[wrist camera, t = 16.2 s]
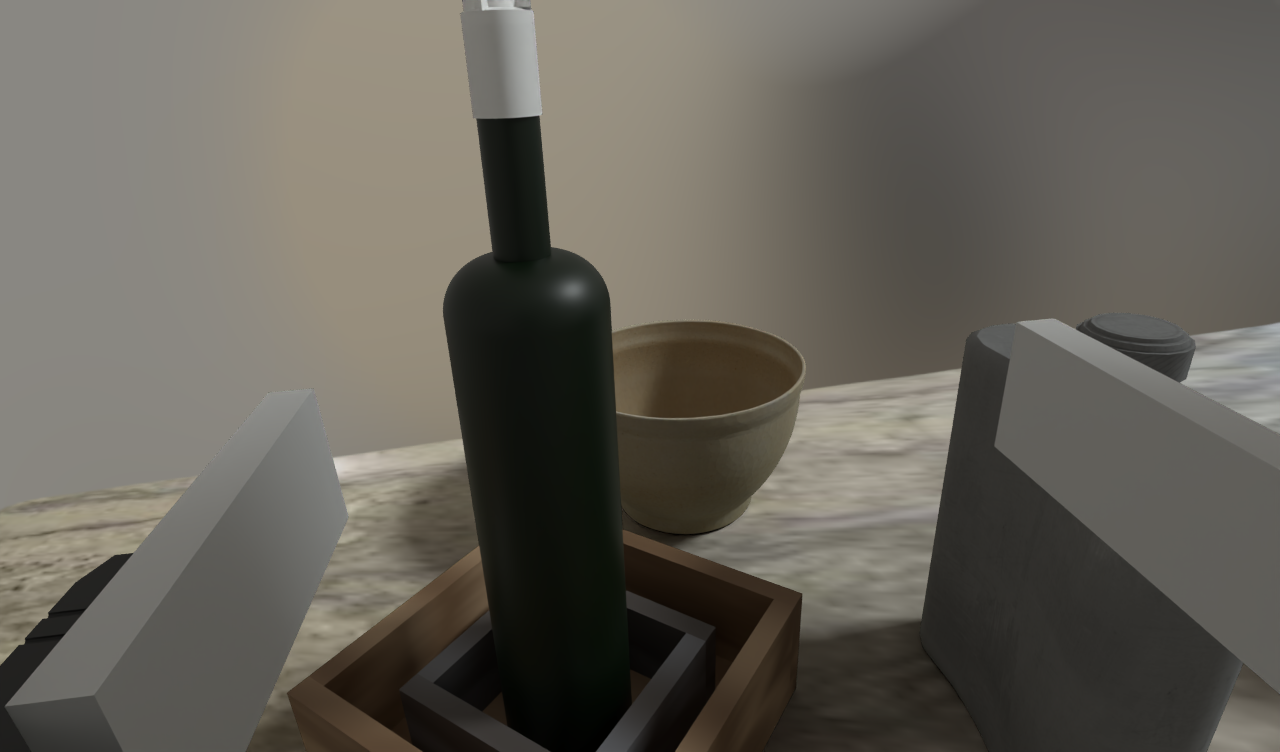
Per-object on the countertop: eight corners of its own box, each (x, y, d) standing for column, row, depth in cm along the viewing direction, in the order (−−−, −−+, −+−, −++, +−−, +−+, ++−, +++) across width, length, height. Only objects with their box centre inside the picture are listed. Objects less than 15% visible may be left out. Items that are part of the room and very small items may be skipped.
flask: (1207, 906, 26) (1436, 422, 18) (1047, 910, 26) (1202, 431, 18) (1010, 614, 40) (1089, 265, 31) (906, 617, 40) (957, 270, 31)
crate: (548, 581, 44) (539, 499, 41) (795, 687, 35) (802, 593, 33) (319, 791, 31) (286, 693, 29) (617, 1026, 23) (607, 917, 21)
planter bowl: (538, 481, 54) (523, 349, 50) (710, 425, 61) (710, 306, 57) (644, 605, 41) (636, 443, 37) (846, 516, 48) (860, 371, 44)
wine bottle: (534, 665, 36) (450, 5, 24) (644, 682, 35) (614, -4, 23) (488, 765, 31) (351, -8, 19) (614, 790, 30) (556, -22, 18)
